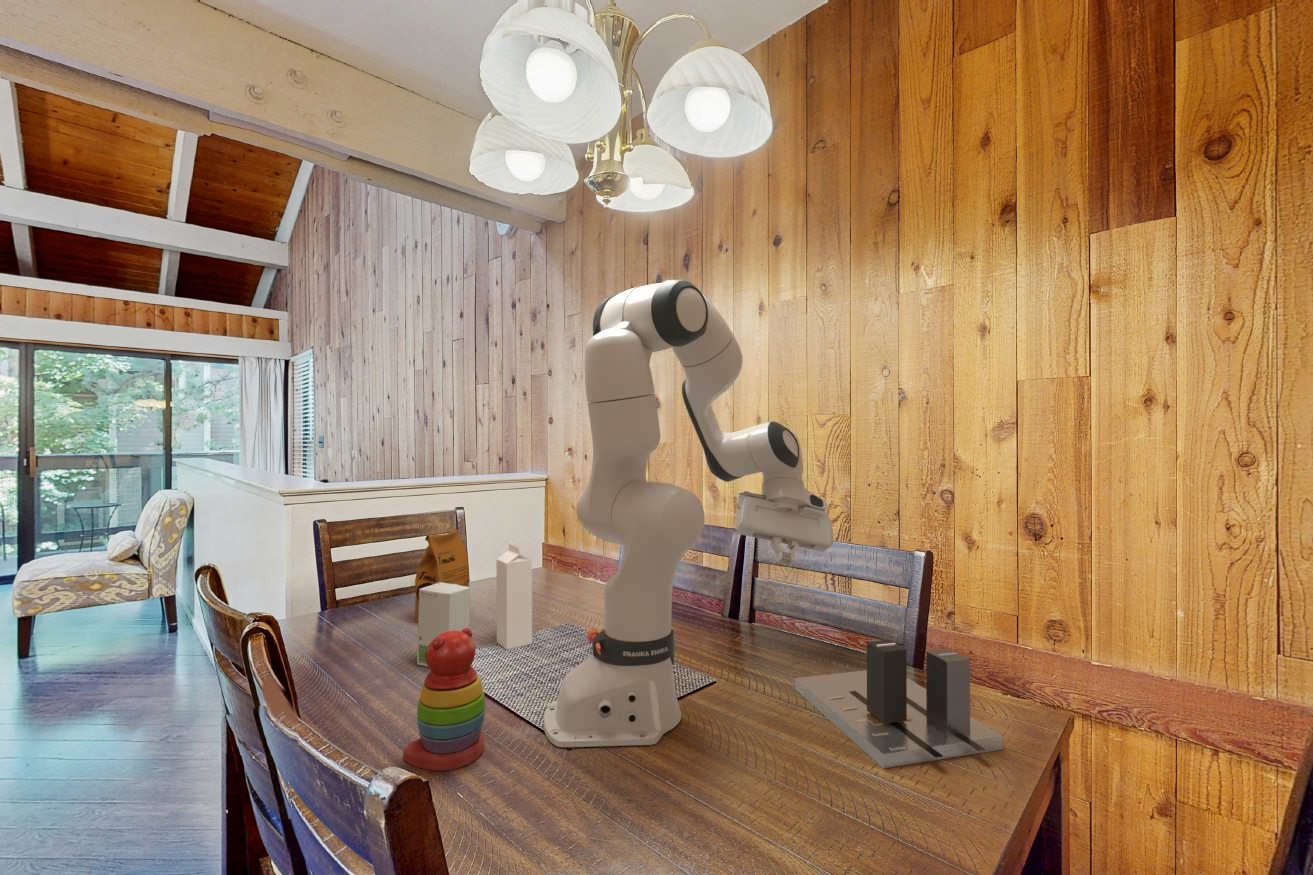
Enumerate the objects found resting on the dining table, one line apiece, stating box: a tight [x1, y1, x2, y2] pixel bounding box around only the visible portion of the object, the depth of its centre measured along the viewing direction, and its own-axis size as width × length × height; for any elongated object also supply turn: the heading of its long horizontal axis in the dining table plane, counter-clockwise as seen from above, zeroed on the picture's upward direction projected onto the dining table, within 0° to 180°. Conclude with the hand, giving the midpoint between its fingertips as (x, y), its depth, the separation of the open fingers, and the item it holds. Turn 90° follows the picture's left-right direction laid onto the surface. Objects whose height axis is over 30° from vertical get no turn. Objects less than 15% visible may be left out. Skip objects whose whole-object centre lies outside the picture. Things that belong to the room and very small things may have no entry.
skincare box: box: [416, 582, 471, 668], centre depth 118 cm, size 8×7×16 cm
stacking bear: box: [403, 627, 486, 771], centre depth 84 cm, size 11×10×18 cm
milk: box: [496, 543, 533, 651], centre depth 129 cm, size 6×6×22 cm
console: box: [794, 648, 1003, 769], centre depth 94 cm, size 20×28×13 cm
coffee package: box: [414, 529, 470, 623], centre depth 147 cm, size 10×12×22 cm
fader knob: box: [866, 639, 908, 724], centre depth 90 cm, size 4×4×11 cm
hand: (785, 562), depth 113 cm, fingers closed
